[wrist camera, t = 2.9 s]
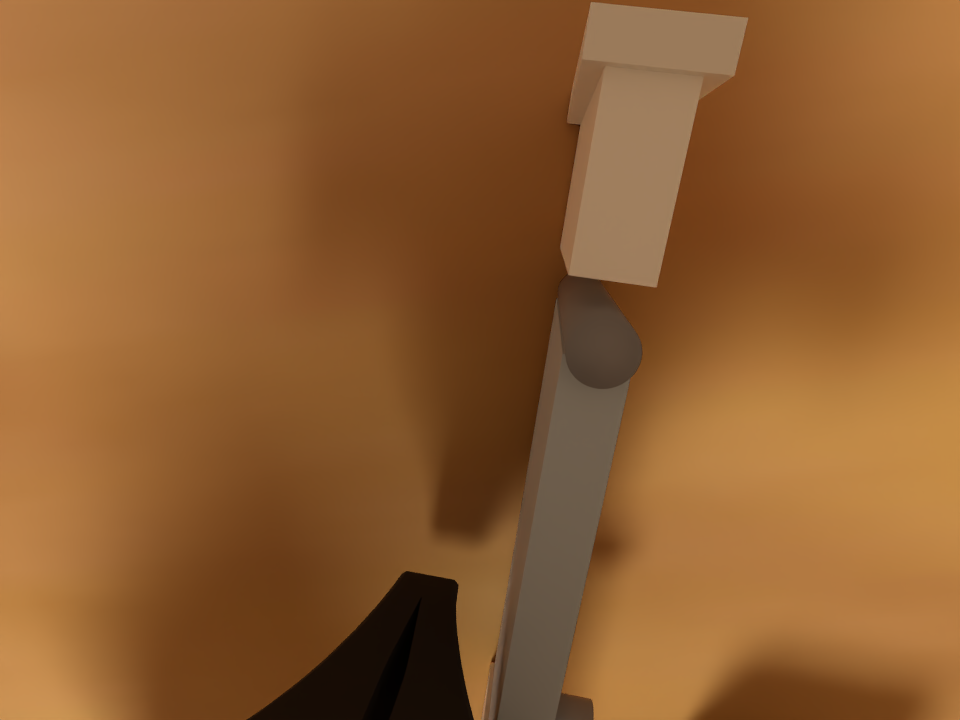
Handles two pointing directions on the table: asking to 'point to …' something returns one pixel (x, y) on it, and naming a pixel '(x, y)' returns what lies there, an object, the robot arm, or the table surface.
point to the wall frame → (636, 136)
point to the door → (562, 501)
